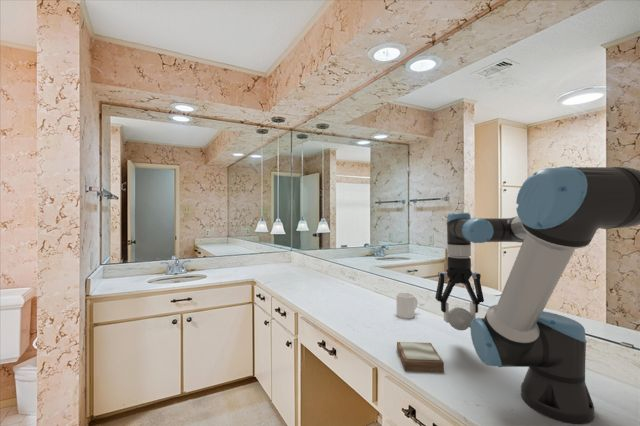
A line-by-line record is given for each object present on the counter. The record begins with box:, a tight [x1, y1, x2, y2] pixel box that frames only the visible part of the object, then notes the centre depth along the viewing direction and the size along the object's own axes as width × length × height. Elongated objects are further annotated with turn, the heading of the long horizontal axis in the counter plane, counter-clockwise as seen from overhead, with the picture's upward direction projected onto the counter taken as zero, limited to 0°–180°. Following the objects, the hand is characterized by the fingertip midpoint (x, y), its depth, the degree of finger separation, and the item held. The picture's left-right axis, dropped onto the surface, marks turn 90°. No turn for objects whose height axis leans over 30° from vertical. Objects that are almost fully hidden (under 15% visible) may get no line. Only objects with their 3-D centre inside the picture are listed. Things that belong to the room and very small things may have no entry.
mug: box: [396, 291, 418, 320], centre depth 146 cm, size 12×8×10 cm
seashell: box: [449, 306, 473, 331], centre depth 108 cm, size 9×11×15 cm
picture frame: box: [396, 341, 445, 373], centre depth 102 cm, size 14×12×3 cm
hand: (459, 321), depth 106 cm, fingers closed on seashell, 8 cm apart
